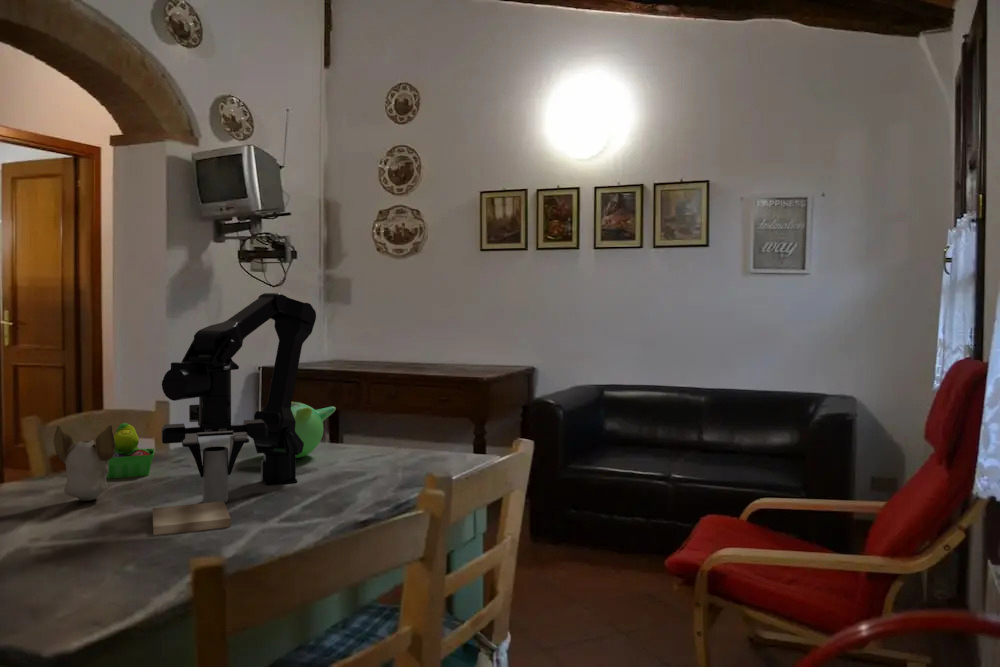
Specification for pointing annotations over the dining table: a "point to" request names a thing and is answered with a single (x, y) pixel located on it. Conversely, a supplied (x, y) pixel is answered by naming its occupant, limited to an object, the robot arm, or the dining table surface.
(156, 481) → the dining table surface
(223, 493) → the grey hollow cylinder
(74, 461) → the white eared plush toy
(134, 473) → the fruit basket
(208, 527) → the oak block
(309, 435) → the toy bird
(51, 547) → the dining table surface
